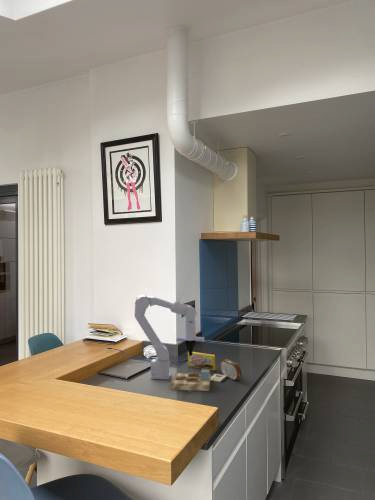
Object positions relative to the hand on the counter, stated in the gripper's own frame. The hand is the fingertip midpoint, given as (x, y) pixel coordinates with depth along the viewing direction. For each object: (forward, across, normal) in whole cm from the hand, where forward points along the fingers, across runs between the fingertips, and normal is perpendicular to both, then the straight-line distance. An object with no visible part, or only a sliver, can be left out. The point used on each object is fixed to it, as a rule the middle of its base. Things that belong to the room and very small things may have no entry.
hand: (190, 355), depth 195 cm
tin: (+11, +20, -2) cm, 23 cm away
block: (+8, +8, -14) cm, 18 cm away
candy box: (+11, +4, +12) cm, 17 cm away
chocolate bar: (+11, +15, 0) cm, 19 cm away
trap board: (+10, +2, -14) cm, 18 cm away
